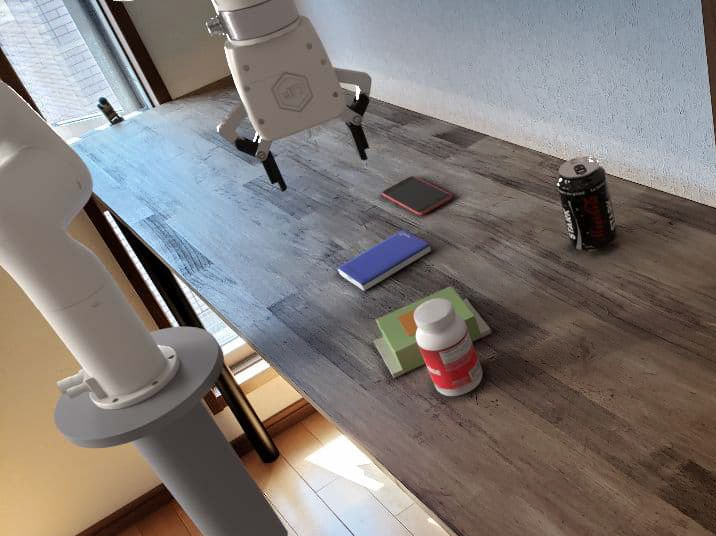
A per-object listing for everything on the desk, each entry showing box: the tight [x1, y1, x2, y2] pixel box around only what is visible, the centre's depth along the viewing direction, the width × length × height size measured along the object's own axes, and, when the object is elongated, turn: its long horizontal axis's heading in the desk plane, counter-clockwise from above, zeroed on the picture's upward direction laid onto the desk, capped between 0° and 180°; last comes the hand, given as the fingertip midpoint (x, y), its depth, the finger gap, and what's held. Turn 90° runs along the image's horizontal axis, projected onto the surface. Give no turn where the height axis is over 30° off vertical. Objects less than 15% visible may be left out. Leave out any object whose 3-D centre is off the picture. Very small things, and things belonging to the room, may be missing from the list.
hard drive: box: [337, 229, 432, 292], centre depth 129 cm, size 2×8×12 cm
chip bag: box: [373, 285, 492, 379], centre depth 111 cm, size 14×9×4 cm, turn 115°
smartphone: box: [381, 175, 453, 216], centre depth 144 cm, size 7×1×14 cm
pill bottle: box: [414, 298, 483, 397], centre depth 100 cm, size 6×6×11 cm
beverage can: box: [556, 156, 618, 253], centre depth 117 cm, size 7×7×12 cm
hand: (322, 171), depth 96 cm, fingers open, 9 cm apart
